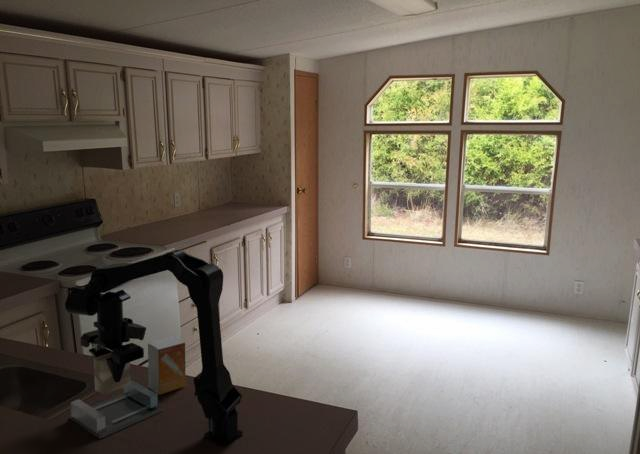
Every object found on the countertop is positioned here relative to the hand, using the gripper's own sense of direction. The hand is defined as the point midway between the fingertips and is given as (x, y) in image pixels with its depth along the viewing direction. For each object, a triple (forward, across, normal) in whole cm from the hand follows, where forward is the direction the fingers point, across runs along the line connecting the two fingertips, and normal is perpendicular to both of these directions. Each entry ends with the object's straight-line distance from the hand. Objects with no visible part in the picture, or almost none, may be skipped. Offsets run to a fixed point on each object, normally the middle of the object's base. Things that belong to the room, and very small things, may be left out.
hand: (112, 379), depth 123 cm
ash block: (+2, 0, 0) cm, 2 cm away
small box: (+10, +3, -18) cm, 20 cm away
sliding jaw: (+8, 0, -7) cm, 11 cm away
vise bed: (+10, 0, 0) cm, 10 cm away
